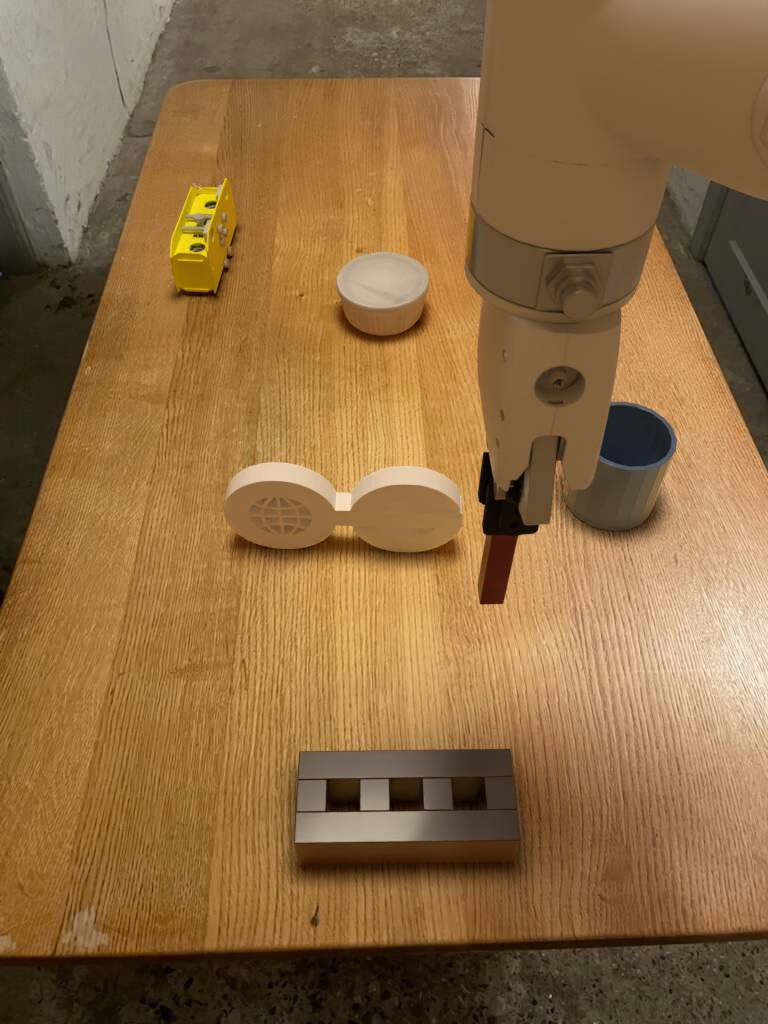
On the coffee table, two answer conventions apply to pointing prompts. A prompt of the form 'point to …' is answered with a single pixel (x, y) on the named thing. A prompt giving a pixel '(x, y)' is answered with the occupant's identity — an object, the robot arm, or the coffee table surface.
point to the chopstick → (496, 567)
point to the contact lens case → (343, 507)
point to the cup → (626, 469)
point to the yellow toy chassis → (203, 238)
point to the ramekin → (382, 292)
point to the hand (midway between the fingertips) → (506, 514)
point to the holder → (406, 832)
